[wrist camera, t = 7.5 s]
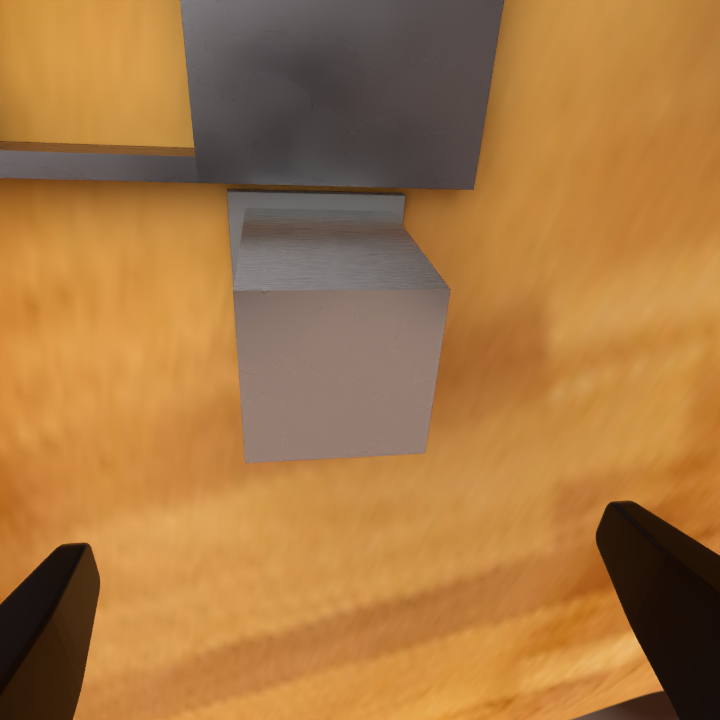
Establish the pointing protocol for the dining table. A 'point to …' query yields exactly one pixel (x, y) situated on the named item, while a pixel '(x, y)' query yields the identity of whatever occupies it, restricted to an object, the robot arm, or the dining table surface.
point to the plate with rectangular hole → (313, 98)
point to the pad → (303, 206)
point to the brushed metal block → (335, 335)
